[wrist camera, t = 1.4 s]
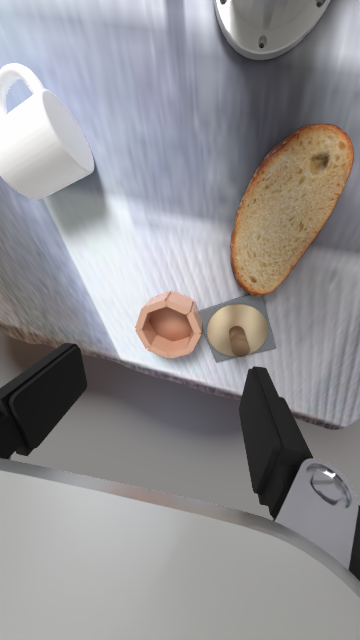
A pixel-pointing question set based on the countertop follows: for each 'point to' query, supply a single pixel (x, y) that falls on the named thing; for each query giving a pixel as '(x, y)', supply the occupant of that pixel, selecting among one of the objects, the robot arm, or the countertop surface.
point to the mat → (247, 299)
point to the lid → (237, 330)
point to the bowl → (169, 325)
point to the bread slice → (288, 204)
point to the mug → (39, 140)
